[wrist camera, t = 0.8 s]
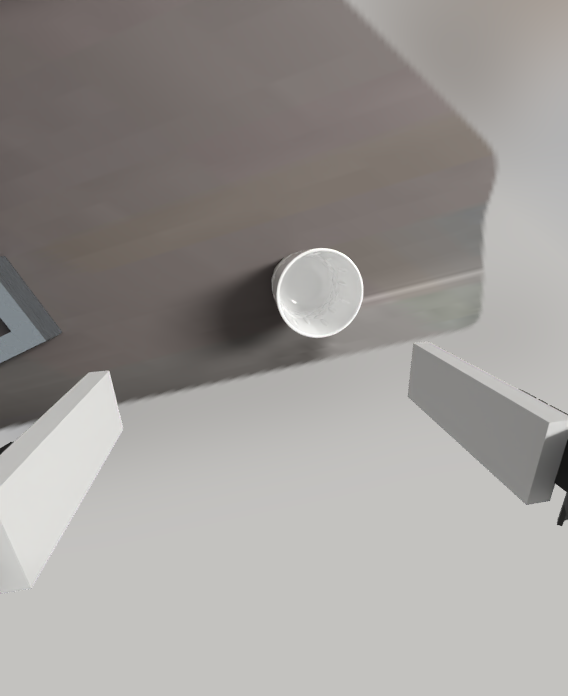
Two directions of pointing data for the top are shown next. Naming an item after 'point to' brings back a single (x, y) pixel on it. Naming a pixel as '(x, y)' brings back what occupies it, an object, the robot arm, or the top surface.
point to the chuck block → (21, 315)
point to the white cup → (317, 291)
